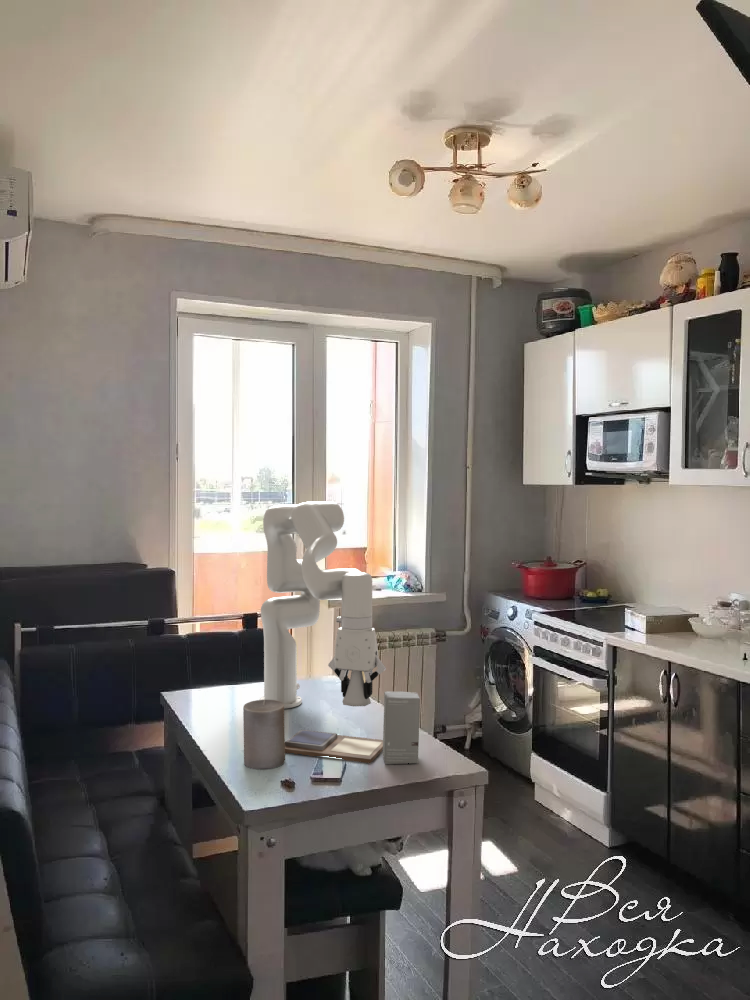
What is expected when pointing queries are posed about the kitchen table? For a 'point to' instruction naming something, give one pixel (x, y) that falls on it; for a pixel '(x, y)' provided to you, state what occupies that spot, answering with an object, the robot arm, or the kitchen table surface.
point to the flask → (356, 691)
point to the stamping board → (334, 746)
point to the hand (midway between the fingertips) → (356, 695)
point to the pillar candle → (264, 734)
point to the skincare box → (401, 727)
